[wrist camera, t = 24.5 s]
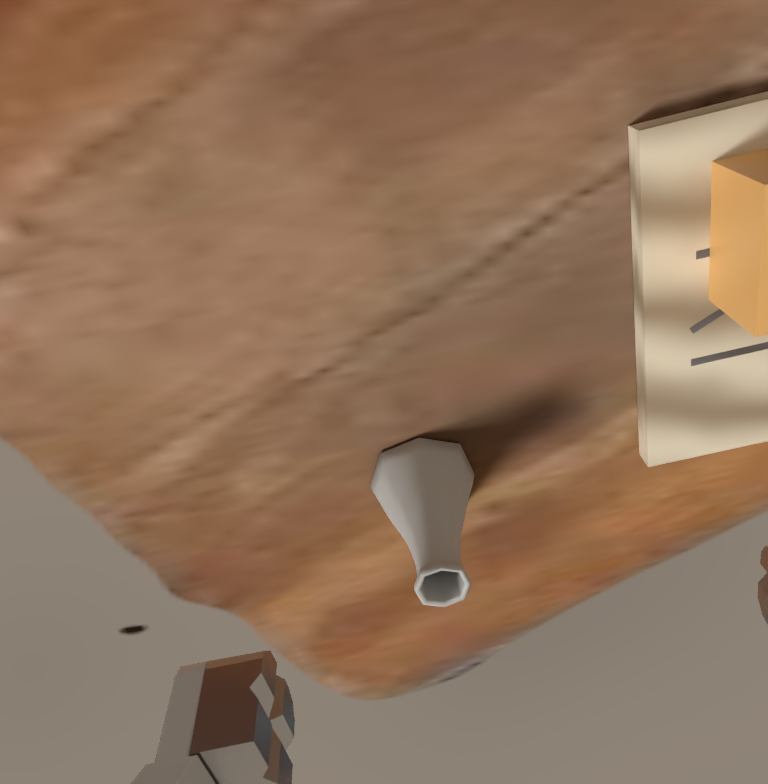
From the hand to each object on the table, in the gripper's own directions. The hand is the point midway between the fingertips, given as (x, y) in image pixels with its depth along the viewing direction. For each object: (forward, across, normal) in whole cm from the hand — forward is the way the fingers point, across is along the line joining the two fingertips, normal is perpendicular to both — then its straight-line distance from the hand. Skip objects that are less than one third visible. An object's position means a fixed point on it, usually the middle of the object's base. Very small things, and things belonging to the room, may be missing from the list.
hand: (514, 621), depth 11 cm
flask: (+29, +2, +20) cm, 36 cm away
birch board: (+29, -19, +11) cm, 36 cm away
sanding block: (+28, -19, +6) cm, 34 cm away
